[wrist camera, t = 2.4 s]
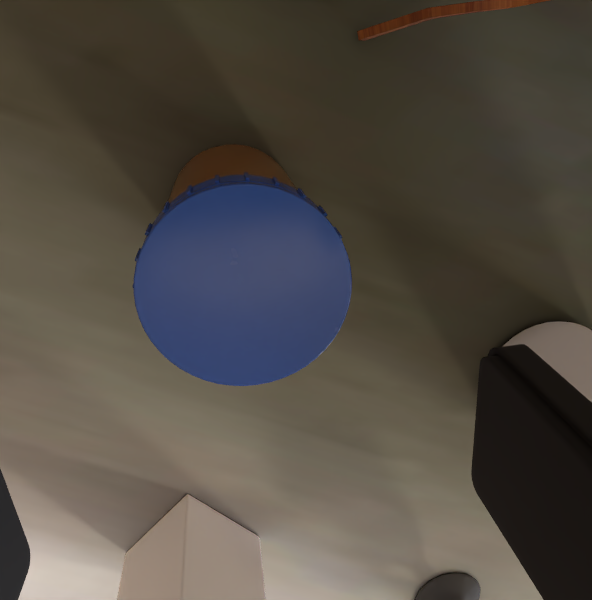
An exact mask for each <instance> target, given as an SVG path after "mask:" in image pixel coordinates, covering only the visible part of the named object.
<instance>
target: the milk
mask: <svg viewBox="0 0 592 600" xmlns="http://www.w3.org/2000/svg"><path fill="white" fill-rule="evenodd" d="M117 600H266V596H265V585H264V575H263V565H262V555H261V544H260V538H259V536H257V535H255V534H254V533H252V532H250V531H249V530H247V529H245V528H244V527H242V526H240V525H239V524H237V523H235V522H234V521H232V520H230V519H229V518H227V517H225V516H224V515H222V514H220V513H219V512H217V511H215V510H214V509H212V508H210V507H209V506H207V505H205V504H204V503H202V502H200V501H199V500H197V499H195V498H194V497H192V496H190V495H189V494H187V495H186V496H185V497H184V498H183V499H182V500H181V501H179V502H178V503H177V504H176V505H175V506H174V507H173V508H172V509H171V510H170V511H169V512H168V513H167V514H166V515H165V516H164V517H163V518H162V519H161V520H160V521H159V522H158V523H157V524H156V525H155V526H153V527H152V528H151V529H150V530H149V531H148V532H147V533H146V534H145V535H144V536H143V537H142V538H141V539H140V540H139V541H138V542H137V543H136V544H135V545H134V546H133V547H132V548H131V549H130V550H129V551H128V552H127V553H126V554H125V559H124V564H123V570H122V575H121V581H120V586H119V592H118V597H117Z"/></svg>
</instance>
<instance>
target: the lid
mask: <svg viewBox="0 0 592 600" xmlns="http://www.w3.org/2000/svg"><path fill="white" fill-rule="evenodd" d="M326 216H327V214H326V212H325V211H324V210H323V208H322V207H321V206H318V207H317V206H316V205H315V204H314V203H313V202H312V201H311V200H310V199H309V198H308V197H306V195H305V194H304V193H303V191H302V190H301V189H300V188H298V190H296V189H294V188H293V187H291V186H289V185H287V184H285V183H282V182H279V181H278V180H277V178H276V177H273V178H272V179H270V178H266V177H262V176H254V175H248V172H244V175H229V176H223V177H219V175H215V178H214V179H211V180H207V181H204V182H202V183H200V184H197V185H195V186H193V187H192V185H189V186H188V188H187V190H186V191H185V192H183V193H181V194H180V195H178V196H177V197H176V198H175V199H174V200H172V201H171V202H170V203H169V202H168V201H167V202H166V203H165V205H164V208H163V210H162V212H161V213H160V214H159V215H158V217H157V218H156V220H155V221H154V223H153V224H151V223H150V224H149V225H148V228H147V230H146V233H145V235H147V236H146V238H145V241H144V243H143V246H142V248H139V251H138V253H137V255H136V258H135V261H137V263H136V268H135V274H134V283H133V288H134V299H135V306H136V309H137V313H138V316H139V319H140V322H141V324H142V326H143V328H144V331H145V332H146V334H147V335H148V337H149V339H150V340H151V342H152V343H153V344H154V345H155V347H156V348H157V349H158V350H159V351H160V353H162V354H163V355H164V356H165V357H166V358H167V359H168V360H169V361H170V362H172V363H173V364H174V365H176V366H177V367H179V368H180V369H182V370H184V371H185V372H187V373H189V374H191V375H193V376H195V377H198V378H200V379H203V380H206V381H210V382H214V383H217V384H224V385H233V386H248V385H258V384H264V383H269V382H272V381H275V380H279V379H282V378H284V377H287V376H289V375H291V374H293V373H295V372H297V371H299V370H300V369H302V368H304V367H305V366H307V365H308V364H309V363H311V362H312V361H313V360H315V359H316V358H317V357H318V356H319V355H320V354H321V353H322V352H323V351H324V350H325V349H326V348H327V347H328V346H329V344H330V343H331V342H332V341H333V339H334V338H335V336H336V335H337V333H338V331H339V330H340V328H341V326H342V324H343V322H344V319H345V317H346V314H347V311H348V308H349V304H350V298H351V291H352V276H351V267H350V260H349V258H348V254H347V252H346V249H345V247H344V244H343V242H342V240H341V238H342V236H341V234H340V233H339V232H338V230H337V229H336V228H335V227H333V226H332V224H331V223H330V222H329V220H328V219H327V218H326Z"/></svg>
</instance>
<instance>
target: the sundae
mask: <svg viewBox="0 0 592 600" xmlns="http://www.w3.org/2000/svg"><path fill="white" fill-rule="evenodd" d="M479 597H480V586H479V584H478V582H477V581H476V579H474V578H473V577H471V576H469V575H467V574H462V573H450V574H445V575H441V576H439V577H436V578H434V579H433V580H431V581H429V582H428V583H427V584H425V585H424V586H423V587H422V588H421V589H420V591H419V593H418V594H417V597H416V599H415V600H479Z"/></svg>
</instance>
